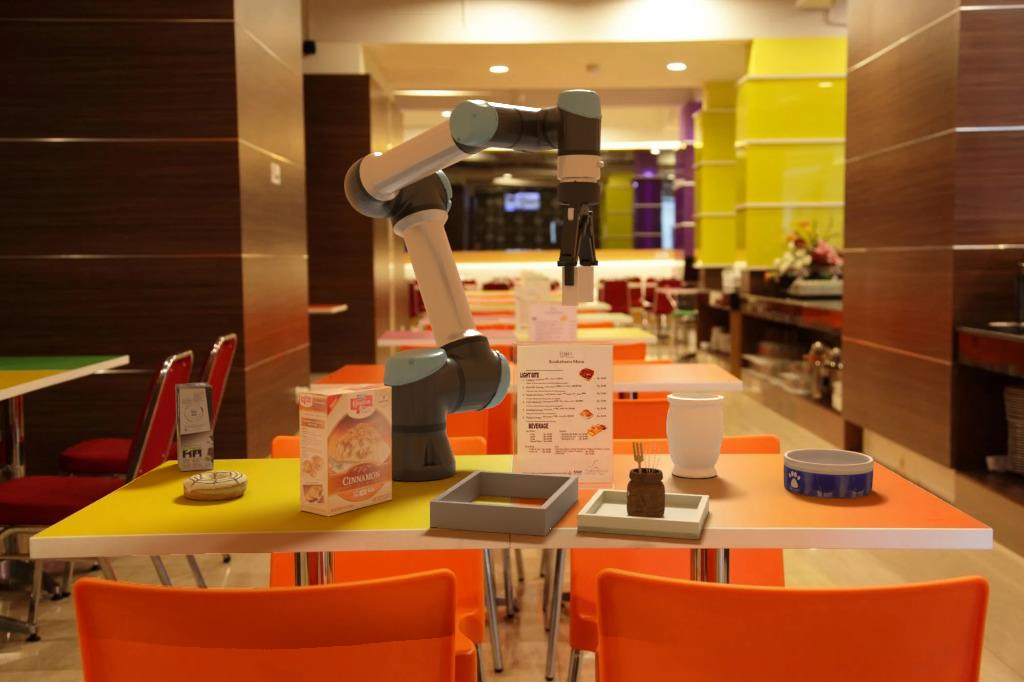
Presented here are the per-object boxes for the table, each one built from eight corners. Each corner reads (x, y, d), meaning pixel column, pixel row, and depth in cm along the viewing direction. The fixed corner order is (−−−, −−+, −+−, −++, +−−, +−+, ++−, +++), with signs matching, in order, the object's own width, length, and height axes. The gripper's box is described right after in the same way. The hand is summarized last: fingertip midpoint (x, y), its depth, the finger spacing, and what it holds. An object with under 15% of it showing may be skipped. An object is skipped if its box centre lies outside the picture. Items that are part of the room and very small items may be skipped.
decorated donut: (185, 491, 185) (184, 470, 185) (247, 488, 188) (247, 467, 188) (181, 504, 175) (181, 482, 175) (248, 501, 178) (247, 478, 178)
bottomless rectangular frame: (429, 527, 160) (429, 501, 159) (476, 493, 183) (476, 470, 182) (545, 535, 155) (545, 509, 155) (578, 499, 178) (578, 476, 178)
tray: (577, 530, 158) (577, 514, 158) (599, 503, 175) (599, 488, 175) (698, 539, 153) (699, 522, 153) (708, 510, 170) (709, 495, 170)
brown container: (671, 513, 165) (672, 438, 164) (653, 522, 160) (654, 444, 159) (637, 508, 168) (638, 434, 167) (618, 516, 163) (619, 440, 162)
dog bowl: (892, 493, 183) (893, 459, 183) (826, 503, 176) (827, 467, 176) (828, 477, 197) (828, 445, 196) (765, 485, 190) (765, 452, 189)
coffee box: (215, 469, 203) (213, 386, 202) (180, 472, 201) (178, 388, 199) (210, 460, 212) (208, 381, 210) (176, 463, 209) (174, 382, 208)
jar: (719, 469, 203) (721, 392, 202) (725, 480, 193) (726, 399, 192) (664, 468, 204) (665, 391, 203) (667, 479, 194) (668, 399, 193)
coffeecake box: (329, 517, 166) (327, 394, 164) (298, 510, 170) (296, 391, 169) (394, 500, 178) (393, 385, 176) (364, 494, 182) (363, 382, 181)
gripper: (586, 176, 170) (585, 307, 172) (612, 186, 194) (611, 301, 196) (541, 177, 172) (540, 306, 174) (572, 186, 196) (572, 300, 198)
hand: (578, 304), depth 185 cm, fingers open, 13 cm apart
